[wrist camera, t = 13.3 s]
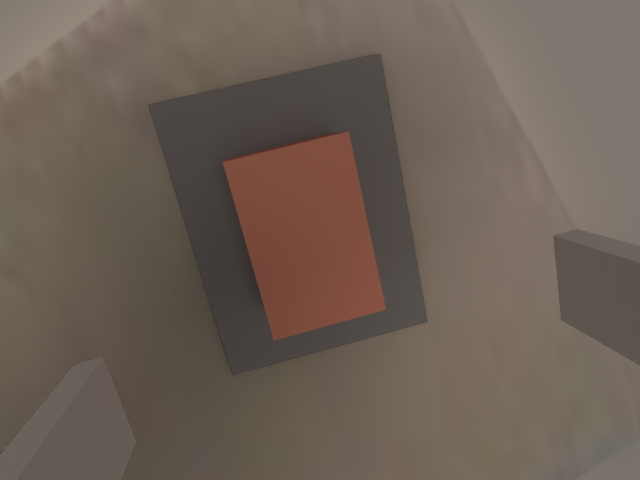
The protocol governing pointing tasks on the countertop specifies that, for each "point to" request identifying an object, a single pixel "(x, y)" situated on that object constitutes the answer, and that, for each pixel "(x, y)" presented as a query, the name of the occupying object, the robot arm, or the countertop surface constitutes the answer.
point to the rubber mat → (270, 131)
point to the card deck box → (306, 233)
